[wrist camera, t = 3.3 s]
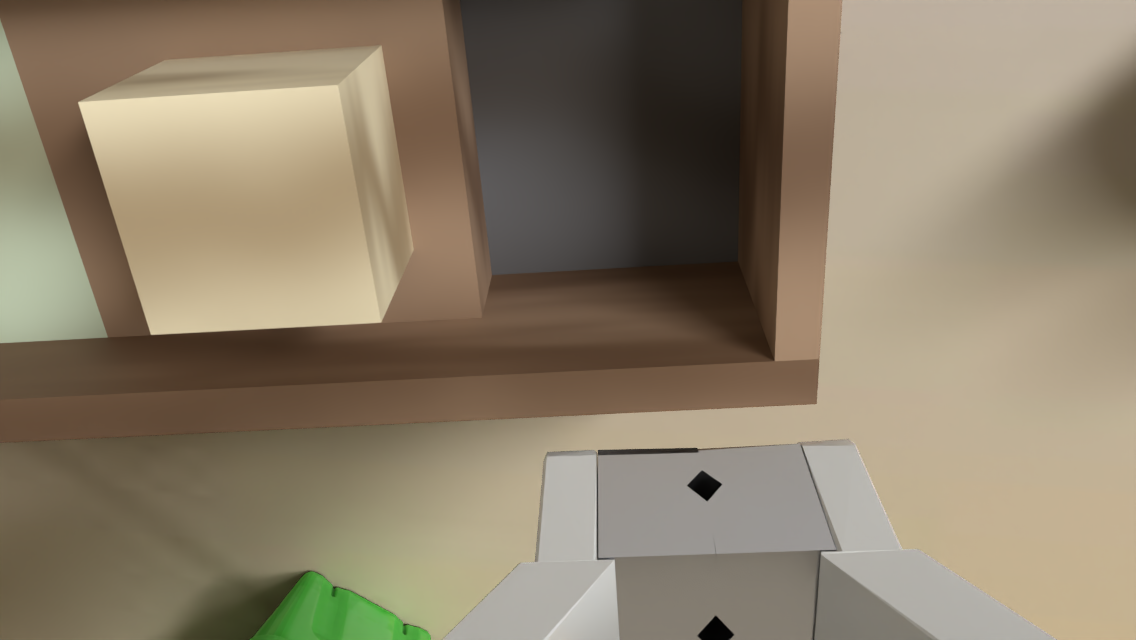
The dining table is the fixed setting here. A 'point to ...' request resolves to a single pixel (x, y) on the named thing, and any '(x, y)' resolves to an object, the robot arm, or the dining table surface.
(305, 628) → the fruit basket
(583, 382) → the trap lane
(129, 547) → the dining table surface
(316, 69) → the maple block
